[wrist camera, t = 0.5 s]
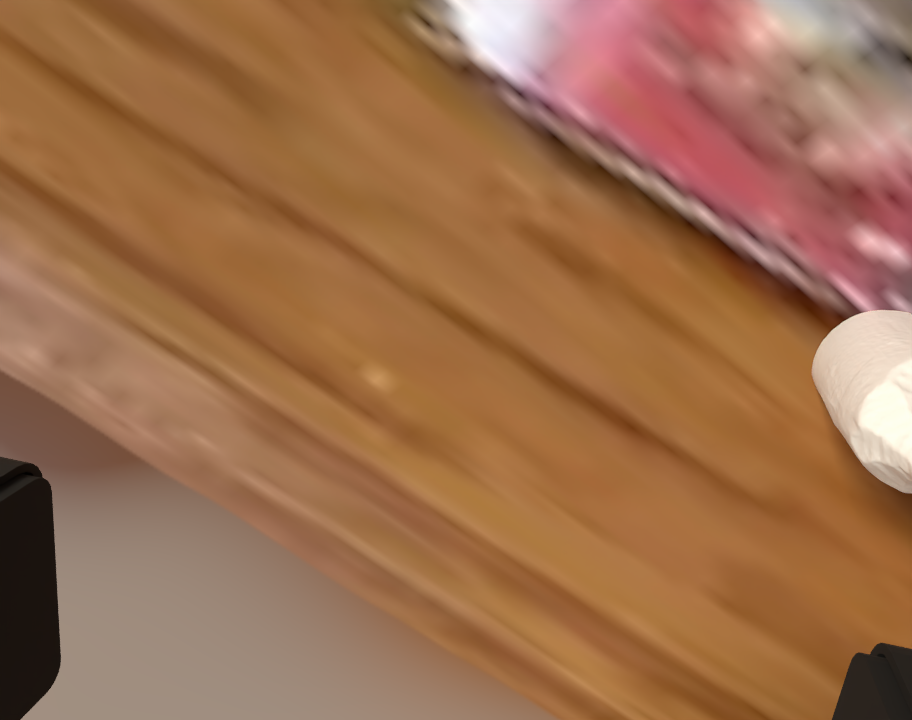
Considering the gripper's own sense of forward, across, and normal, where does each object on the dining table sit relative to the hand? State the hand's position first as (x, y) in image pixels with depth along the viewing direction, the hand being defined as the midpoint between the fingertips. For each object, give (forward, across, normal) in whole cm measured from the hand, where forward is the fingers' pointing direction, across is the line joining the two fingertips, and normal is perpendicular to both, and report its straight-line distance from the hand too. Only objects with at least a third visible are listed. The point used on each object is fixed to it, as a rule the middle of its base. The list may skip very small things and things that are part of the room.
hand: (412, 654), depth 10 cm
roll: (+33, -15, +5) cm, 37 cm away
